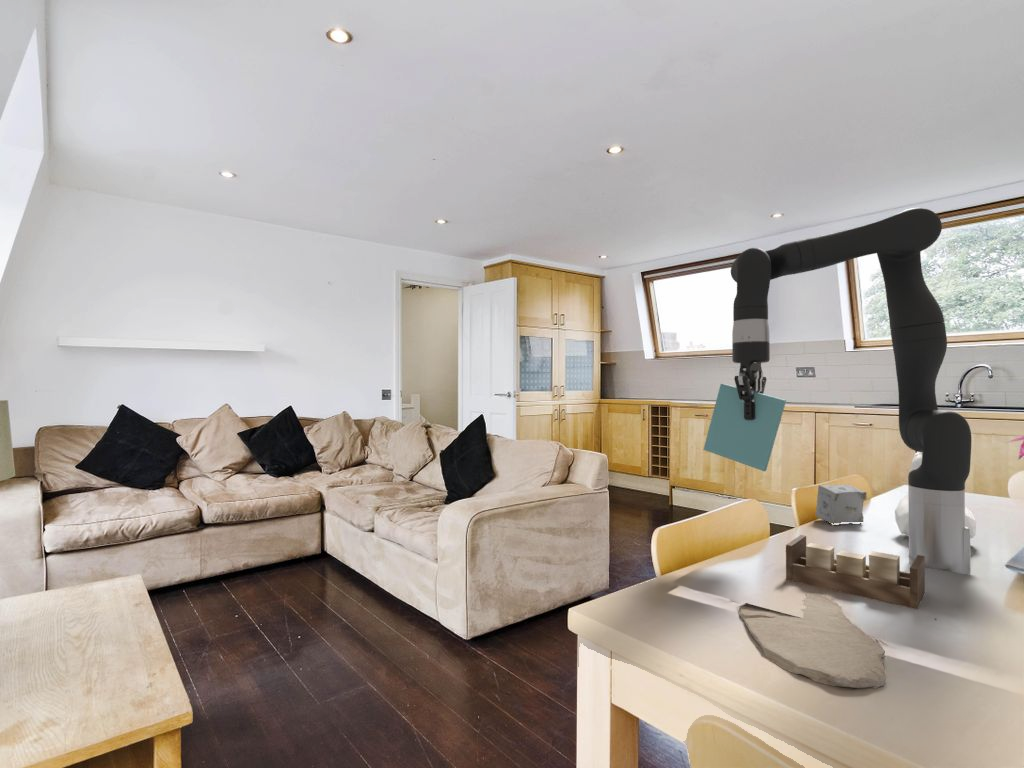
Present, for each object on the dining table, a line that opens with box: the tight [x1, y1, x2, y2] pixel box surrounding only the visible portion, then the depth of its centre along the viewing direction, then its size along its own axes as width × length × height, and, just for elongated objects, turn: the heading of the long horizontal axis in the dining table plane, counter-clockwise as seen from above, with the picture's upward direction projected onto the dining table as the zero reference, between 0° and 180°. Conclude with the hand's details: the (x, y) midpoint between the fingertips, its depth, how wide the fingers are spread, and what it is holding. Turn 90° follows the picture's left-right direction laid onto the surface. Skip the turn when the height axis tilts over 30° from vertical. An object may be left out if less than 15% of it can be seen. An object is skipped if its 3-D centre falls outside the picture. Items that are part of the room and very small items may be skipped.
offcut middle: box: [835, 550, 867, 578], centre depth 96 cm, size 4×3×6 cm
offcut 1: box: [806, 542, 835, 572], centre depth 100 cm, size 4×3×6 cm
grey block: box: [815, 484, 868, 524], centre depth 150 cm, size 10×8×10 cm
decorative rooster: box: [894, 451, 977, 539], centre depth 135 cm, size 25×16×25 cm, turn 138°
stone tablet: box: [738, 593, 886, 689], centre depth 81 cm, size 16×30×2 cm, turn 167°
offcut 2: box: [868, 550, 901, 585], centre depth 93 cm, size 4×3×7 cm
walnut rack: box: [785, 534, 926, 610], centre depth 98 cm, size 20×10×8 cm, turn 46°
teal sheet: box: [703, 383, 787, 472], centre depth 119 cm, size 14×1×16 cm, turn 46°
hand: (751, 419), depth 118 cm, fingers closed on teal sheet, 1 cm apart
